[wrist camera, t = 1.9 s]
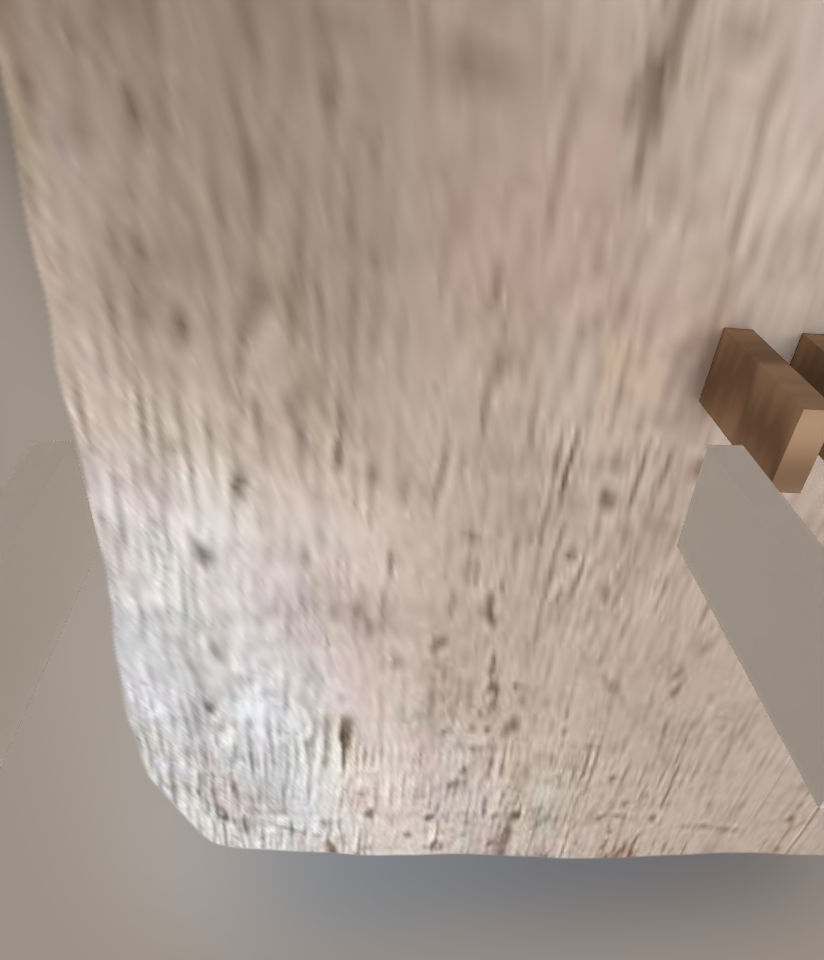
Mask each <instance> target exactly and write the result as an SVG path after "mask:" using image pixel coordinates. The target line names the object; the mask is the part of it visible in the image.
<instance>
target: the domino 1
mask: <svg viewBox="0 0 824 960" xmlns="http://www.w3.org/2000/svg"><path fill="white" fill-rule="evenodd" d="M699 402H700V403H701V404H702V406H703V407H704V408H705V410H706V411H707V412H708V414H709V415H710V416H711V417H712V419H713V420H714V421H715V423H716V424H717V425H718V427H719V428H720V429H721V431H722V432H723V433H724V435H725V436H726V437H727V439H728V440H729V441H730V442H731V444H732V445H743V446H744V447H745V449H746V450H747V451H748V452H749V454H750V455H751V456H752V457H753V459H754V460H755V461H756V463H757V464H758V465H759V466H760V468H761V469H762V470H763V471H764V473H765V474H766V475H767V476H768V478H769V479H770V480H771V482H772V483H773V484H774V485H775V487H776V488H777V489H778V490H779V492H783V493H800V492H801V490H802V488H803V486H804V484H805V482H806V479H807V477H808V475H809V473H810V471H811V469H812V467H813V464H814V462H815V460H816V458H817V456H818V454H819V451H820V449H821V447H822V445H823V443H824V397H823V396H822V395H821V394H820V393H819V392H818V391H817V390H815V389H814V388H813V387H812V386H811V385H810V384H809V383H808V382H807V381H806V380H805V379H804V378H803V377H802V376H801V375H800V374H799V373H798V372H797V371H796V370H794V369H793V368H792V367H791V366H790V365H789V364H788V363H787V362H786V361H785V360H784V359H783V358H782V357H781V356H780V355H779V354H778V353H777V352H776V351H774V350H773V349H772V348H771V347H770V346H769V345H768V344H767V343H766V342H765V341H764V340H763V339H762V338H761V337H760V336H759V335H758V334H757V333H756V332H755V331H753V330H749V329H733V328H724V330H723V333H722V336H721V339H720V342H719V345H718V348H717V350H716V353H715V356H714V359H713V362H712V365H711V368H710V371H709V374H708V377H707V380H706V383H705V385H704V388H703V391H702V394H701V397H700V400H699Z"/></svg>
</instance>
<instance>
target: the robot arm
mask: <svg viewBox="0 0 824 960" xmlns="http://www.w3.org/2000/svg"><path fill="white" fill-rule="evenodd" d="M677 547H678V548H679V550H680V552H681V554H682V556H683V558H684V560H685V561H686V563H687V565H688V567H689V569H690V571H691V572H692V574H693V576H694V578H695V580H696V582H697V584H698V585H699V587H700V589H701V591H702V593H703V595H704V596H705V598H706V600H707V602H708V604H709V606H710V608H711V609H712V611H713V613H714V615H715V617H716V619H717V621H718V622H719V624H720V626H721V628H722V630H723V632H724V633H725V635H726V637H727V639H728V641H729V643H730V645H731V646H732V648H733V650H734V652H735V654H736V656H737V657H738V659H739V661H740V663H741V665H742V667H743V669H744V670H745V672H746V674H747V676H748V678H749V680H750V681H751V683H752V685H753V687H754V689H755V691H756V693H757V694H758V696H759V698H760V700H761V702H762V704H763V706H764V707H765V709H766V711H767V713H768V715H769V717H770V718H771V720H772V722H773V724H774V726H775V728H776V730H777V731H778V733H779V735H780V737H781V739H782V741H783V742H784V744H785V746H786V748H787V750H788V752H789V754H790V755H791V757H792V759H793V761H794V763H795V765H796V766H797V768H798V770H799V772H800V774H801V776H802V778H803V779H804V781H805V783H806V785H807V787H808V789H809V791H810V792H811V794H812V796H813V798H814V800H815V802H816V803H817V805H818V807H819V808H824V547H823V546H822V545H821V543H820V542H819V541H818V540H817V538H816V537H815V536H814V535H813V533H812V532H811V531H810V530H809V528H808V527H807V526H806V525H805V523H804V522H803V521H802V519H801V518H800V517H799V516H798V514H797V513H796V512H795V511H794V509H793V508H792V507H791V506H790V504H789V503H788V502H787V500H786V499H785V498H784V497H783V495H782V494H781V493H780V492H779V490H778V489H777V488H776V487H775V485H774V484H773V483H772V482H771V480H770V479H769V478H768V476H767V475H766V474H765V473H764V471H763V470H762V469H761V468H760V466H759V465H758V464H757V463H756V461H755V460H754V459H753V457H752V456H751V455H750V454H749V452H748V451H747V450H746V449H745V447H744V446H743V445H708V447H707V450H706V453H705V456H704V460H703V463H702V466H701V469H700V473H699V476H698V479H697V482H696V486H695V489H694V492H693V496H692V499H691V502H690V505H689V509H688V512H687V515H686V518H685V522H684V525H683V528H682V531H681V535H680V538H679V541H678V544H677ZM99 548H100V547H99V543H98V539H97V535H96V531H95V527H94V523H93V519H92V515H91V511H90V507H89V502H88V498H87V494H86V490H85V486H84V482H83V478H82V474H81V470H80V466H79V462H78V458H77V454H76V450H75V446H74V442H73V441H33V443H32V444H31V446H30V447H29V449H28V450H27V452H26V453H25V454H24V456H23V458H22V459H21V460H20V462H19V463H18V465H17V466H16V467H15V469H14V470H13V472H12V473H11V475H10V476H9V478H8V479H7V481H6V482H5V484H4V485H3V486H2V488H1V489H0V768H1V766H2V763H3V761H4V759H5V757H6V755H7V752H8V750H9V748H10V745H11V743H12V741H13V739H14V737H15V735H16V732H17V730H18V728H19V726H20V723H21V721H22V719H23V717H24V715H25V712H26V710H27V708H28V706H29V703H30V701H31V699H32V697H33V695H34V692H35V690H36V688H37V686H38V683H39V681H40V679H41V677H42V675H43V672H44V670H45V668H46V665H47V663H48V661H49V659H50V657H51V654H52V652H53V650H54V648H55V646H56V643H57V641H58V639H59V637H60V634H61V632H62V630H63V628H64V625H65V623H66V621H67V619H68V617H69V614H70V612H71V610H72V607H73V606H74V603H75V601H76V599H77V597H78V594H79V592H80V590H81V588H82V585H83V583H84V581H85V579H86V577H87V574H88V572H89V570H90V568H91V566H92V563H93V561H94V559H95V557H96V554H97V552H98V550H99Z"/></svg>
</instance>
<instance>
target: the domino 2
mask: <svg viewBox="0 0 824 960" xmlns="http://www.w3.org/2000/svg"><path fill="white" fill-rule="evenodd" d="M790 366H791V367H792V368H793V369H794V370H796V371H797V372H798V373H799V374H800V375H801V376H802V377H803V378H804V379H805V380H806V381H807V382H808V383H809V384H810V385H811V386H812V387H813V388H814V389H815V390H817V391H818V392H819V393H820V394H821V395H822V396H823V397H824V335H822V334H807V333H803V334H802V336H801V339H800V341H799V344H798V346H797V349H796V351H795V354H794V356H793V359H792V361H791V363H790ZM818 455H819V456H820V457H821V458H822V459H823V460H824V443H823V445H822V447H821V449H820V451H819V454H818Z"/></svg>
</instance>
